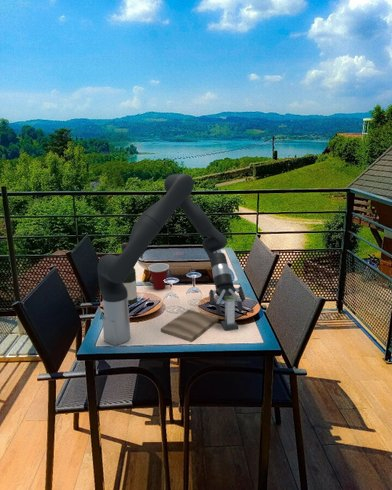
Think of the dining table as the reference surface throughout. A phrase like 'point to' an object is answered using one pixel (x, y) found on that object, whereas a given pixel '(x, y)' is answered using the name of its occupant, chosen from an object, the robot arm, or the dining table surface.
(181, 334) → the serving board
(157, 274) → the plastic cup
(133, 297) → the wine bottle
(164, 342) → the dining table surface
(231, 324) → the square capped column
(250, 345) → the dining table surface
